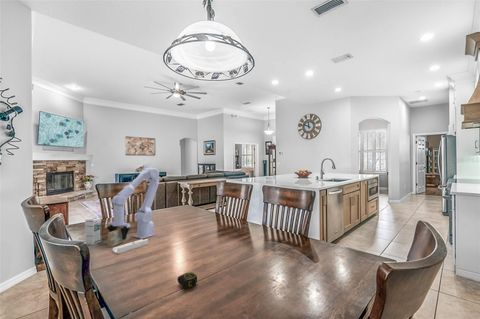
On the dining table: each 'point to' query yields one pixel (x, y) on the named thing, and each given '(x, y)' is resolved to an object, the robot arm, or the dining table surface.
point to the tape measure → (187, 280)
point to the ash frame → (116, 237)
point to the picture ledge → (130, 246)
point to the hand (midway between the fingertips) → (119, 238)
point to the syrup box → (93, 230)
